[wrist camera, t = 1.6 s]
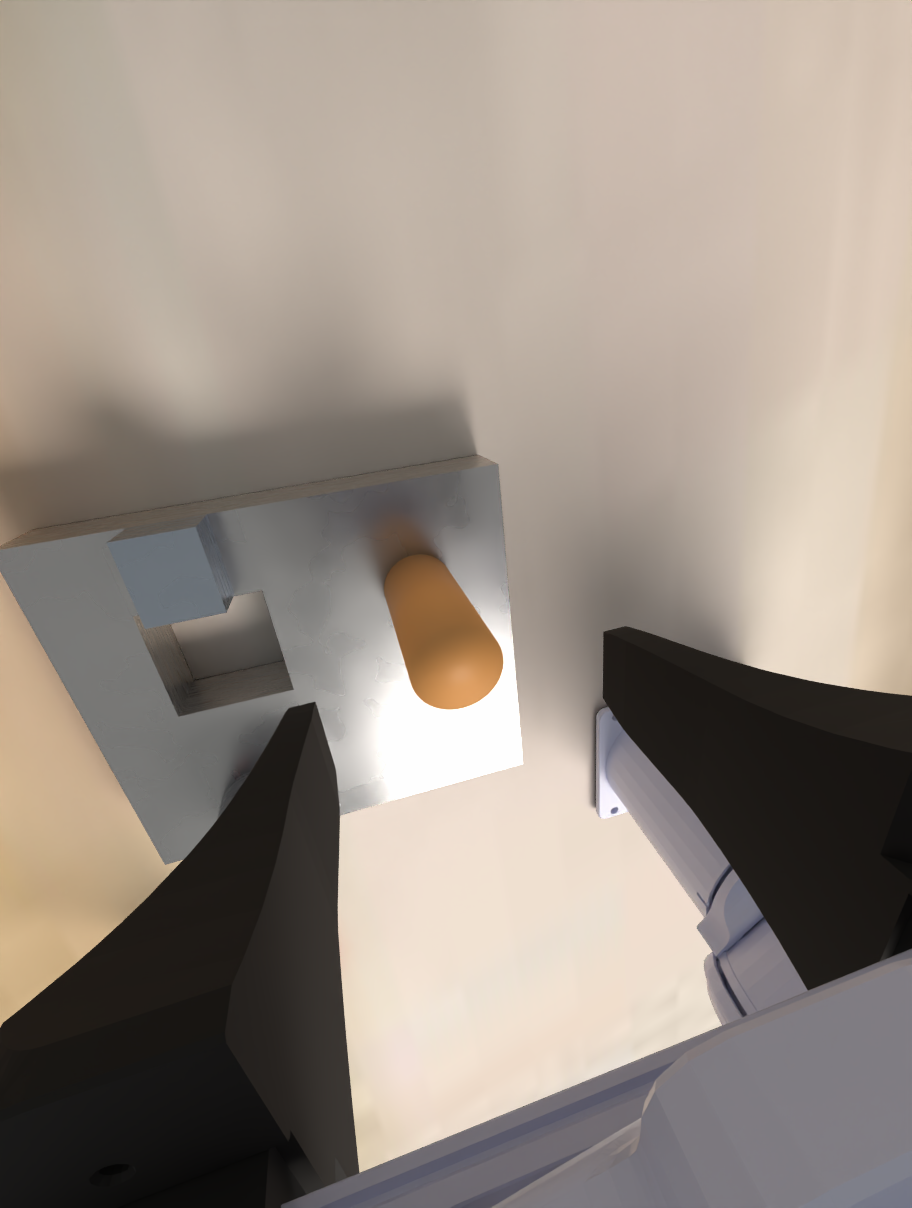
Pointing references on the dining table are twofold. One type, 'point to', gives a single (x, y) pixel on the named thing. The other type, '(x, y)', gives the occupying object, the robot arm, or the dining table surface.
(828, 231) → the dining table surface
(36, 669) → the dining table surface
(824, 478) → the dining table surface
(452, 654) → the orange rounded capsule
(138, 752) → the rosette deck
